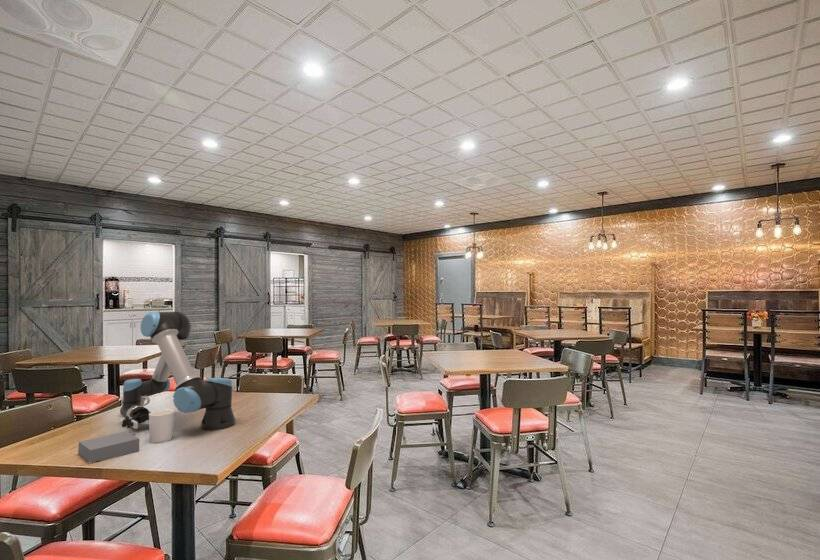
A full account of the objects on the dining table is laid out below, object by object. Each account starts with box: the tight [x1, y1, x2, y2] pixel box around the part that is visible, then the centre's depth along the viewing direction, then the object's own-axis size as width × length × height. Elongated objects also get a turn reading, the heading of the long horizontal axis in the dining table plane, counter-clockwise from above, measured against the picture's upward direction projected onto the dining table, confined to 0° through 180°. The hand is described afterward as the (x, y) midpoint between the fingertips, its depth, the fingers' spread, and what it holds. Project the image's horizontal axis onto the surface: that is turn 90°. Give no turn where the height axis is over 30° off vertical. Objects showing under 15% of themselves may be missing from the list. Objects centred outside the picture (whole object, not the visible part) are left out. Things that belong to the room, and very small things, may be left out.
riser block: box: [77, 431, 140, 464], centre depth 159 cm, size 16×16×5 cm
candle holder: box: [148, 408, 175, 444], centre depth 174 cm, size 10×10×12 cm
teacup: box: [119, 396, 151, 407], centre depth 215 cm, size 12×15×10 cm
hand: (154, 422), depth 179 cm, fingers open, 13 cm apart
